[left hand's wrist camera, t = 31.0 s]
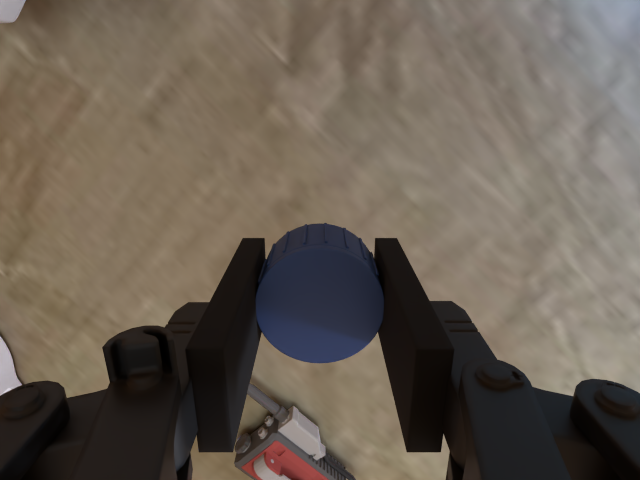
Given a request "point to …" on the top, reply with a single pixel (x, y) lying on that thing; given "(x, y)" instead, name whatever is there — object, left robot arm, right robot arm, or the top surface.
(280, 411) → the walkie-talkie
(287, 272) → the cap
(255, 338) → the left robot arm
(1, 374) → the right robot arm
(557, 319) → the top surface
